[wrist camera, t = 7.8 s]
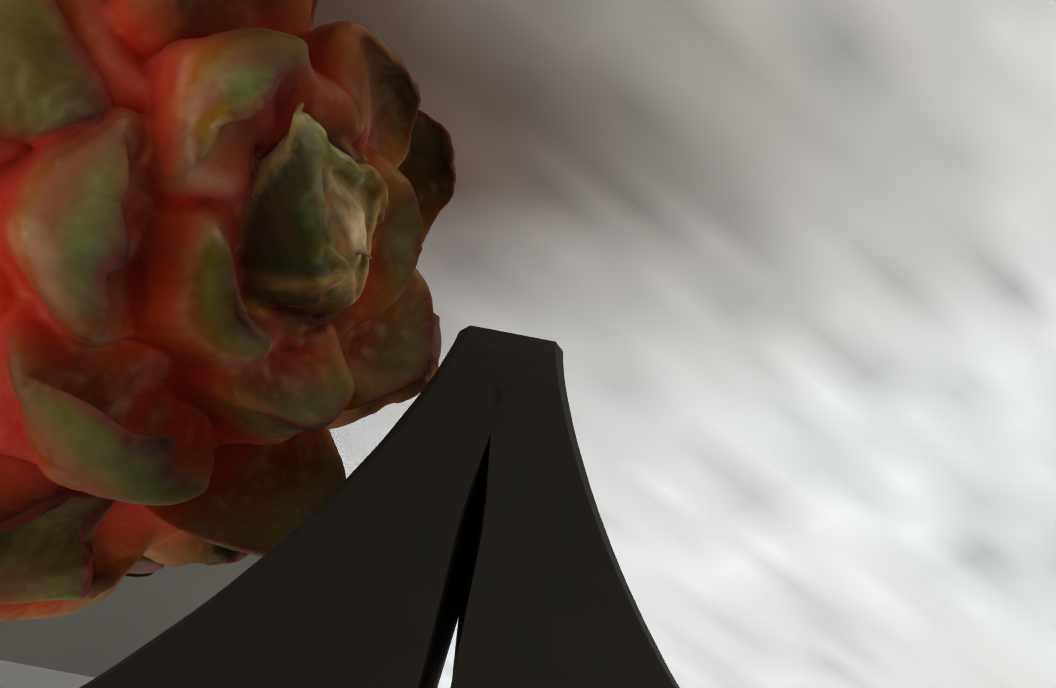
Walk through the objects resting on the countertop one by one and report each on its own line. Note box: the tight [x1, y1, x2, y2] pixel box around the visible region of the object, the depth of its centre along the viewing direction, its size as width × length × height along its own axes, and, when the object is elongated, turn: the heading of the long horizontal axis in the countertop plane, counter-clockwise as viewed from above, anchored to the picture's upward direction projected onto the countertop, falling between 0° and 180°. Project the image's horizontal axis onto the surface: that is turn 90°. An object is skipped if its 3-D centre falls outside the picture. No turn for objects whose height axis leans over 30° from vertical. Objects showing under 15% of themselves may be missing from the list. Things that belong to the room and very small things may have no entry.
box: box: [0, 554, 262, 688], centre depth 13 cm, size 13×20×4 cm, turn 172°
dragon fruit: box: [0, 0, 456, 622], centre depth 12 cm, size 8×8×12 cm
